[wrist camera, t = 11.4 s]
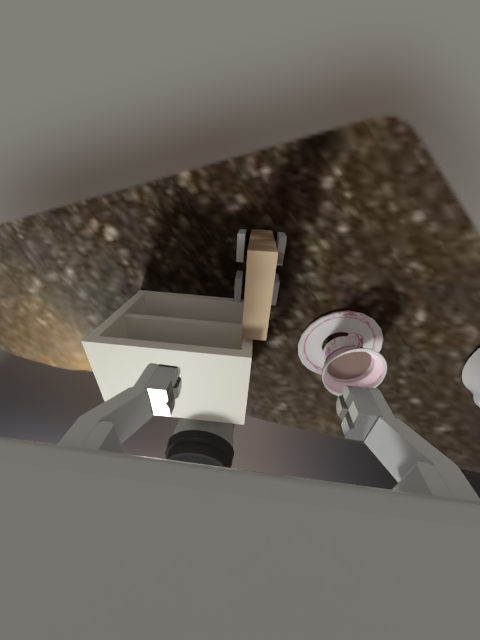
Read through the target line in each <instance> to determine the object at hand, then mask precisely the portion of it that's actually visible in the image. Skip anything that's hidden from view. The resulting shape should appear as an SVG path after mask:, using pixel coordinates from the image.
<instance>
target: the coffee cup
mask: <svg viewBox="0 0 480 640" xmlns="http://www.w3.org/2000/svg"><path fill="white" fill-rule="evenodd" d="M233 430H234V424H233V423H224V422H215V421H206V420H196V419H187V418H179V421H178V424H177V426H176V428H175V431H174V433H173V435H172V437H170V439H169V441H168V444H167V449H166V452H165V455H166V459H167V460H175V461H182V462H190V463H197V464H204V465H212V466H219V467H226V468H231V465H232V459H233V456H234V450H233Z"/></svg>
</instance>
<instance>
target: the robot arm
mask: <svg viewBox="0 0 480 640" xmlns="http://www.w3.org/2000/svg"><path fill="white" fill-rule="evenodd" d="M180 373H181V371H180V367H177V366H170V365H163V364H154V363H150V364H148V365H147V367H146V368H145V370H144V371H143V373H142V374H141V376H140V377H139V379H138V380H137V382H136V383H135V385H134V386H133V387H129V388H127V389H126V390H124V391H122V392H121V393H119V394H117V395H116V396H114V397H112V398H111V399H109V400H107V401H105V402H104V403H102V404H100V405H99V406H97V407H95V408H94V409H92V410H90V411H89V412H87V413H85V414H84V415H82V416H80V417H79V418H78V419H77V421H76V422H75V423H74V424H73V425H72V427H71V428H70V429H69V430H68V432H67V433H66V434H65V436H64V437H63V438H62V439H61V440H60V442H59V443H58V444H50V443H43V442H42V443H41V442H35V441H28V440H20V439H12V438H6V437H0V640H480V499H479V497H478V496H477V494H476V493H475V491H474V490H473V488H472V487H471V485H470V484H469V482H468V481H467V479H466V478H465V476H464V475H463V473H462V472H461V471H460V469H459V468H458V466H457V465H456V464H454V463H453V462H452V461H451V460H449V459H448V458H447V457H446V456H444V455H443V454H442V453H441V452H439V451H438V450H437V449H436V448H434V447H433V446H432V445H431V444H429V443H428V442H427V441H426V440H424V439H423V438H422V437H421V436H419V435H418V434H417V433H416V432H414V431H413V430H412V429H411V428H409V427H408V426H407V425H406V424H404V423H403V422H402V421H401V420H399V419H395V417H394V415H393V413H392V411H391V410H390V408H389V406H388V404H387V403H386V401H385V399H384V397H383V395H382V394H381V392H380V390H379V389H377V388H368V387H358V386H348V385H344V386H343V388H342V390H341V391H342V395H340V396H339V397H338V399H337V405H336V408H337V413H338V416H339V417H340V418H341V419H342V420H343V422H342V424H341V426H342V429H343V432H344V435H345V438H347V439H354V440H360V441H364V443H365V444H366V445H367V446H368V447H369V448H370V450H371V451H372V452H373V453H374V454H375V455H376V457H377V458H378V459H379V460H380V461H381V463H382V464H383V465H384V466H385V467H386V468H387V470H388V471H389V472H390V473H391V474H392V475H393V477H394V478H395V479H396V480H397V481H398V484H397V485H396V486H395V487H394V488H393V489H392V490H389V489H381V488H374V487H366V486H359V485H352V484H345V483H337V482H330V481H323V480H315V479H308V478H300V477H293V476H286V475H278V474H271V473H264V472H256V471H248V470H241V469H233V468H226V467H219V466H212V465H204V464H197V463H190V462H182V461H175V460H167V459H160V458H153V457H144V456H138V455H131V454H125V452H124V450H123V447H122V445H121V444H122V443H123V442H124V441H125V440H126V439H127V438H128V437H130V436H131V435H132V434H133V433H134V432H135V431H137V430H138V429H139V428H140V427H141V426H142V425H143V424H144V423H146V422H147V421H148V420H149V419H150V418H151V417H152V416H153V415H161V416H171V414H172V411H173V409H174V407H175V399H177V398H178V397H179V394H180V391H181V387H182V379H181V378H180V377H179V375H180ZM462 381H463V383H464V385H465V386H466V388H468V389H469V390H470V391H471V392H472V393H473V396H474V402H475V404H477V405H478V406H479V407H480V348H479V349H477V350H476V351H475V352H474V353H473V354H472V356H471V357H470V358H469V359H468V361H467V362H466V364H465V366H464V368H463V372H462Z"/></svg>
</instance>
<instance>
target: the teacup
mask: <svg viewBox="0 0 480 640" xmlns="http://www.w3.org/2000/svg"><path fill="white" fill-rule="evenodd" d="M337 332H345V333H348V336H341V337H337V338H334V339H332V340H331V341H329V342H328V343H327V344H326V346H325V347H324V350H322V344H323V341H324V340H325V339H326V338H327V337H328V336H329V335H331V334H334V333H337ZM382 343H383V335H382V330H381V328H380V327H379V325H378V324H377V323H376V322H375V320H374V319H373V318H371V317H369V316H367V315H365V314H363V313H360V312H354V311H339V312H333V313H330V314H327V315H324V316H322V317H320V318H318V319H317V320H315V321H314V322H312V323H311V324H309V326H308V327H307V328H306V329H305V330H304V332H303V333H302V334H301V337H300V340H299V342H298V355H299V357H300V359H301V361H302V363H303V364H304V365H305V366H306V367H307V368H308V369H309V370H311V371H313V372H315V373H318V374H320V375H322V380H323V383H324V386H325V387H326V389H327V390H328V391H330V392H331V393H332V394H334V395H337V396H340V395H342V391H341V390H342V388H343V386H344V385H348V386H358V387H368V388H376V387H377V386H378V385H379V384H380V383H381V382H382V381H383V379H384V378H385V376H386V373H387V362H386V360H385V358H384V357H383V356H382V355H381V354H380V353H379V352H380V350H381V348H382Z"/></svg>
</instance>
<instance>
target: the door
mask: <svg viewBox="0 0 480 640" xmlns="http://www.w3.org/2000/svg"><path fill="white" fill-rule="evenodd" d="M283 258H284V253H279V252H278V250H277V246H276V242H275V239H274V235H273V232H272V231H271V230H256V229H252V230H251V235H250V240H249V245H248V250H247V265H246V280H245V295H244V310H243V325H242V339H253V340H265V341H266V338H267V331H268V323H269V316H270V309H271V302H272V294H273V287H274V280H275V273H276V265H277V264H283Z"/></svg>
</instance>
